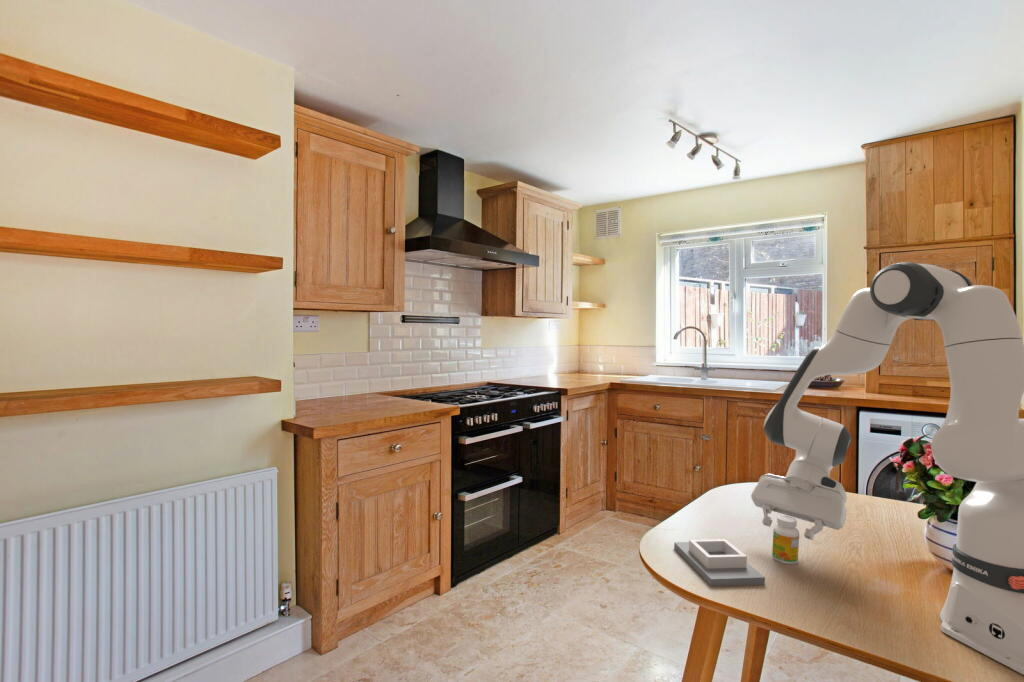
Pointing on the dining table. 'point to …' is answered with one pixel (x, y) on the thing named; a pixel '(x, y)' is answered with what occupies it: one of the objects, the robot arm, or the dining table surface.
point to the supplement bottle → (785, 540)
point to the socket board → (719, 562)
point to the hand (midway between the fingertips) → (786, 531)
